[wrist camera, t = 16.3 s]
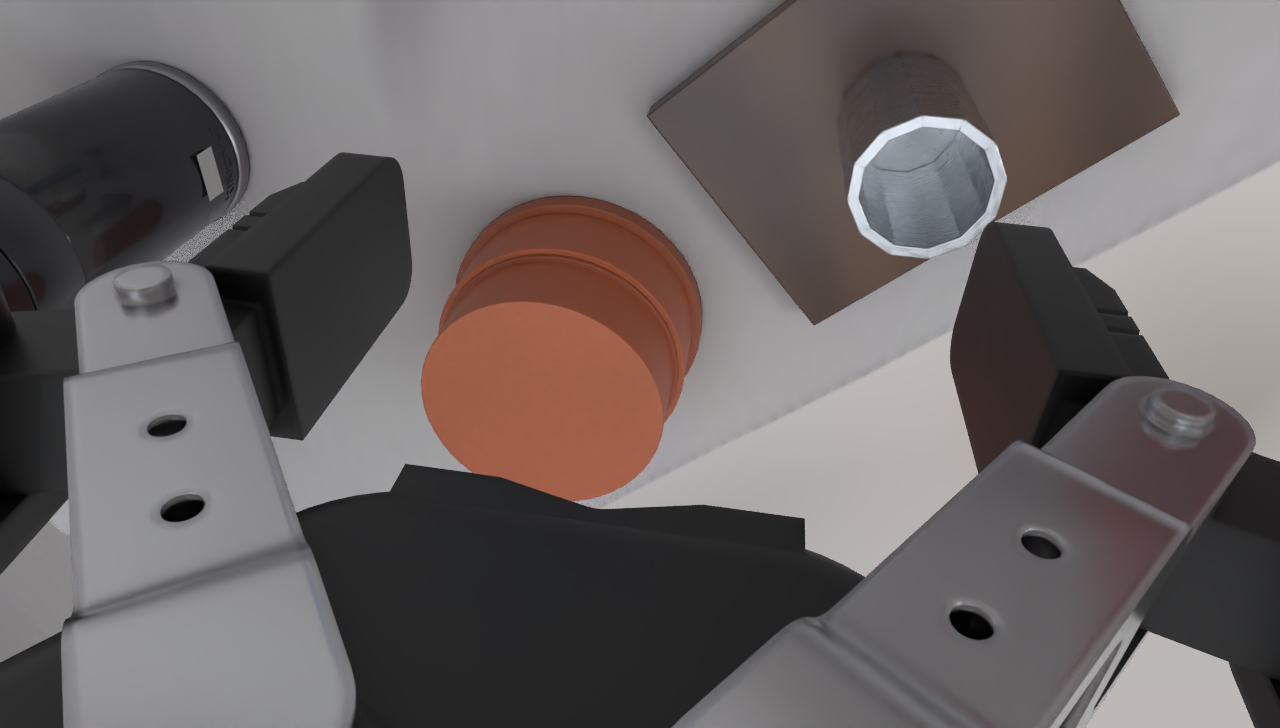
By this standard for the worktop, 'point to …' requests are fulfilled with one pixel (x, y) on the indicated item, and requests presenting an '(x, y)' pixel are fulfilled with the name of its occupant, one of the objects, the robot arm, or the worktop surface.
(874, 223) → the steel cup
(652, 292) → the terracotta flower pot
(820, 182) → the board
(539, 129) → the worktop surface
